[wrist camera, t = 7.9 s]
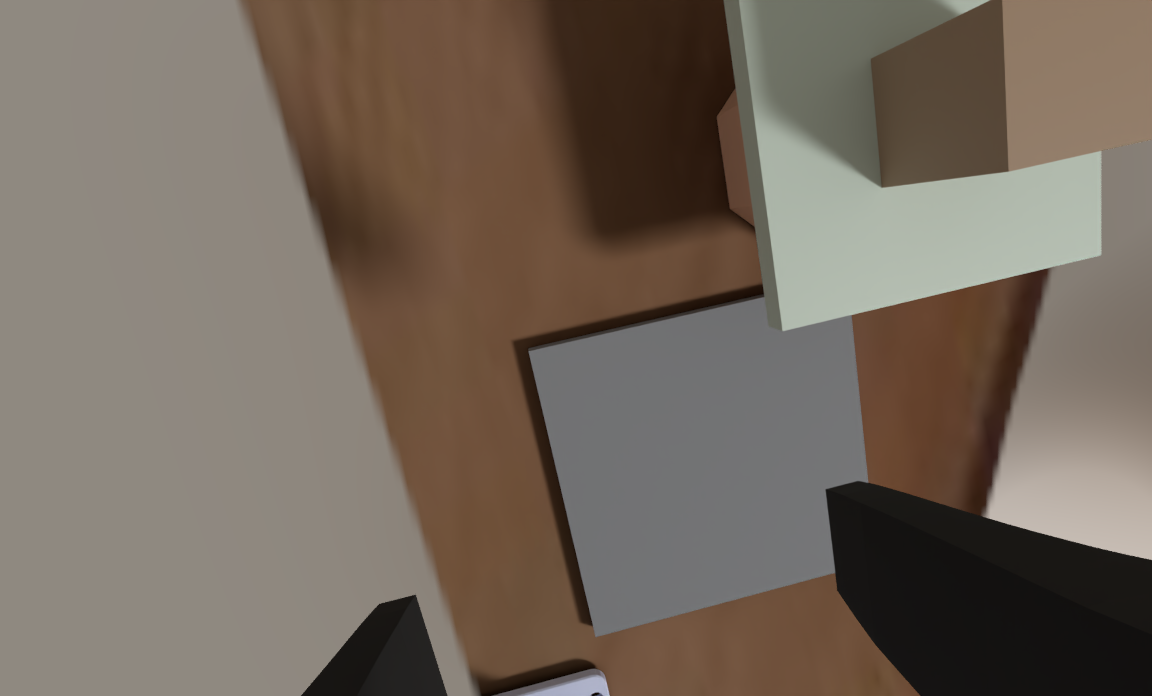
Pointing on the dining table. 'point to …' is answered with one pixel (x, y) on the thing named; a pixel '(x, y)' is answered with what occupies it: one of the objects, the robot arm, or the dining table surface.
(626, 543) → the grey mat
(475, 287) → the dining table surface
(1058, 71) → the sage lid
